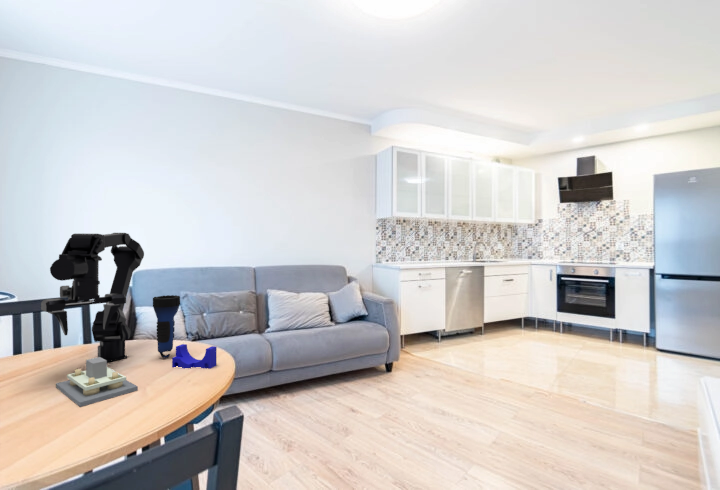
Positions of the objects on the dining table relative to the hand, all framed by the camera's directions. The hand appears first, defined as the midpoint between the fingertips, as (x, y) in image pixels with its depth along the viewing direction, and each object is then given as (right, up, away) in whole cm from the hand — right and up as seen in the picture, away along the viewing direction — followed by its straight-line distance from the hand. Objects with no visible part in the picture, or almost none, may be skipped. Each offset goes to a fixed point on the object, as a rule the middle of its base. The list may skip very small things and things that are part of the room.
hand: (85, 332), depth 104 cm
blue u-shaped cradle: (+28, -13, +7) cm, 31 cm away
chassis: (+11, -12, -11) cm, 19 cm away
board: (+11, -10, -11) cm, 18 cm away
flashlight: (+15, -12, +15) cm, 24 cm away
